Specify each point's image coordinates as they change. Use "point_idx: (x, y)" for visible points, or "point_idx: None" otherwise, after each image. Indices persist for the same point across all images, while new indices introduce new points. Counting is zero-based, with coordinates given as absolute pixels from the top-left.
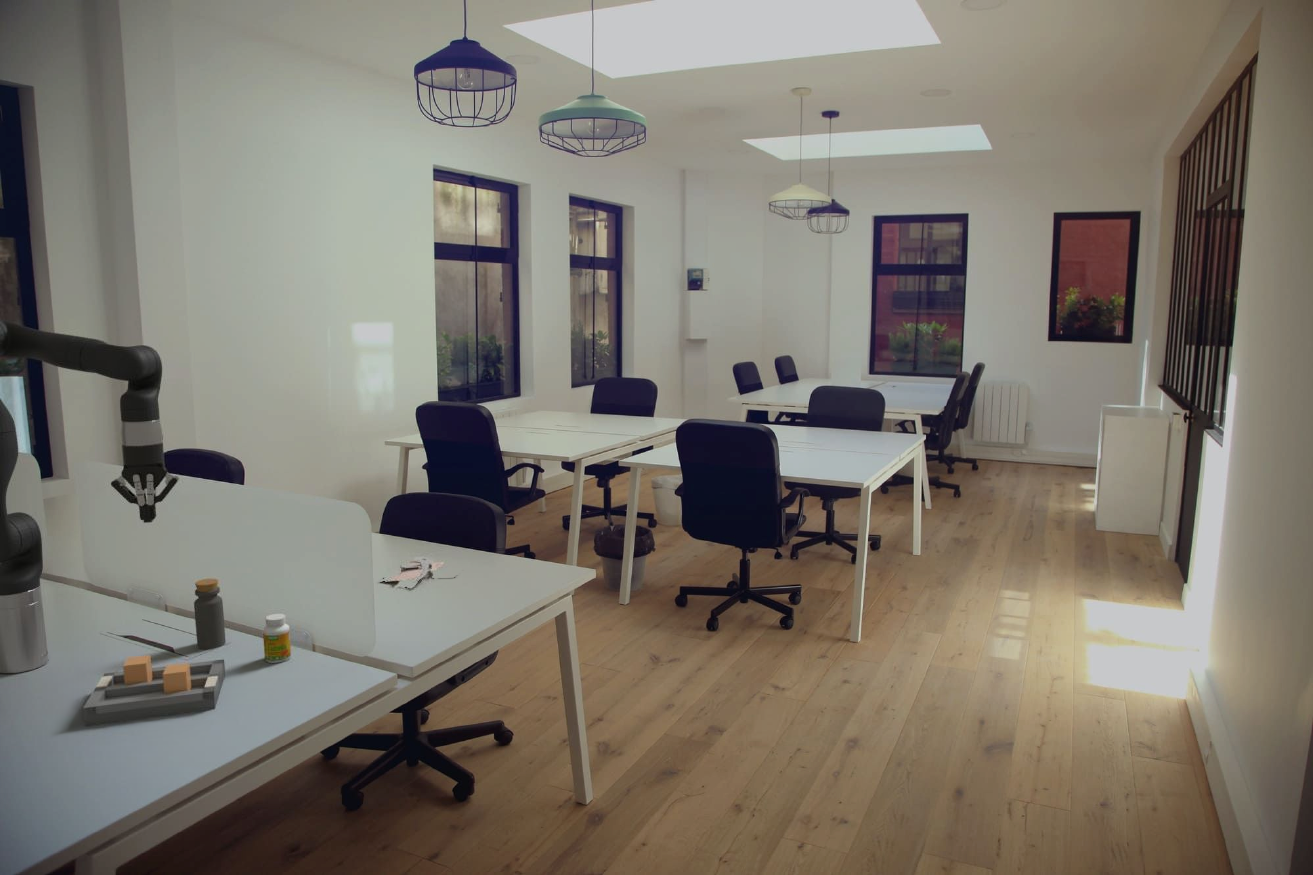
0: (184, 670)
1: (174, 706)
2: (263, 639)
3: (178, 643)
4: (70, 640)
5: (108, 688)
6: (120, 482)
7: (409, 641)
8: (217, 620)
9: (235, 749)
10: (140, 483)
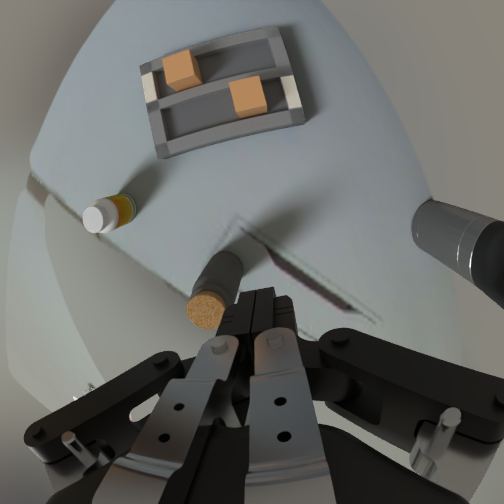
0: (164, 61)
1: None
2: (122, 207)
3: (272, 277)
4: (407, 300)
5: (274, 71)
6: (458, 443)
7: (33, 247)
8: (202, 271)
9: (113, 11)
10: (252, 457)
